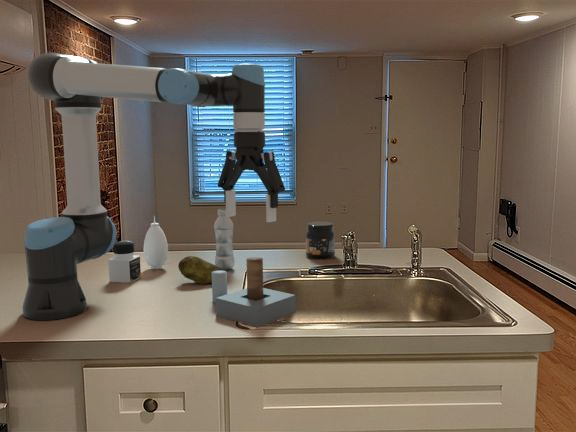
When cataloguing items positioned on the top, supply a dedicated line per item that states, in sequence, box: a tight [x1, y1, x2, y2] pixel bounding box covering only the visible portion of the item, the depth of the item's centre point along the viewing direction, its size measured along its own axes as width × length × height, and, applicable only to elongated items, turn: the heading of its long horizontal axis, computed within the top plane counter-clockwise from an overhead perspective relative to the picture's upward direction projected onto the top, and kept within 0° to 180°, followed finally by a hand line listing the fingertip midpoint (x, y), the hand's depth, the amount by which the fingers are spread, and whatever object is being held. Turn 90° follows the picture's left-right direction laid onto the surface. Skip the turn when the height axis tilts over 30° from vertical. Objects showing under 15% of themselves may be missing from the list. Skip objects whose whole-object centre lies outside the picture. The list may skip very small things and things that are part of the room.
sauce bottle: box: [142, 215, 169, 271], centre depth 193 cm, size 8×8×18 cm
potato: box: [177, 255, 224, 285], centre depth 175 cm, size 8×13×8 cm, turn 73°
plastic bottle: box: [213, 208, 235, 271], centre depth 190 cm, size 6×7×20 cm
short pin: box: [211, 270, 228, 304], centre depth 156 cm, size 4×4×8 cm
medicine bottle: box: [107, 240, 142, 284], centre depth 179 cm, size 7×7×12 cm
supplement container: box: [305, 221, 336, 260], centre depth 209 cm, size 10×10×12 cm
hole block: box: [215, 287, 297, 328], centre depth 145 cm, size 14×14×4 cm
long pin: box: [245, 256, 264, 301], centre depth 144 cm, size 4×4×14 cm
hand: (250, 219), depth 142 cm, fingers open, 13 cm apart
